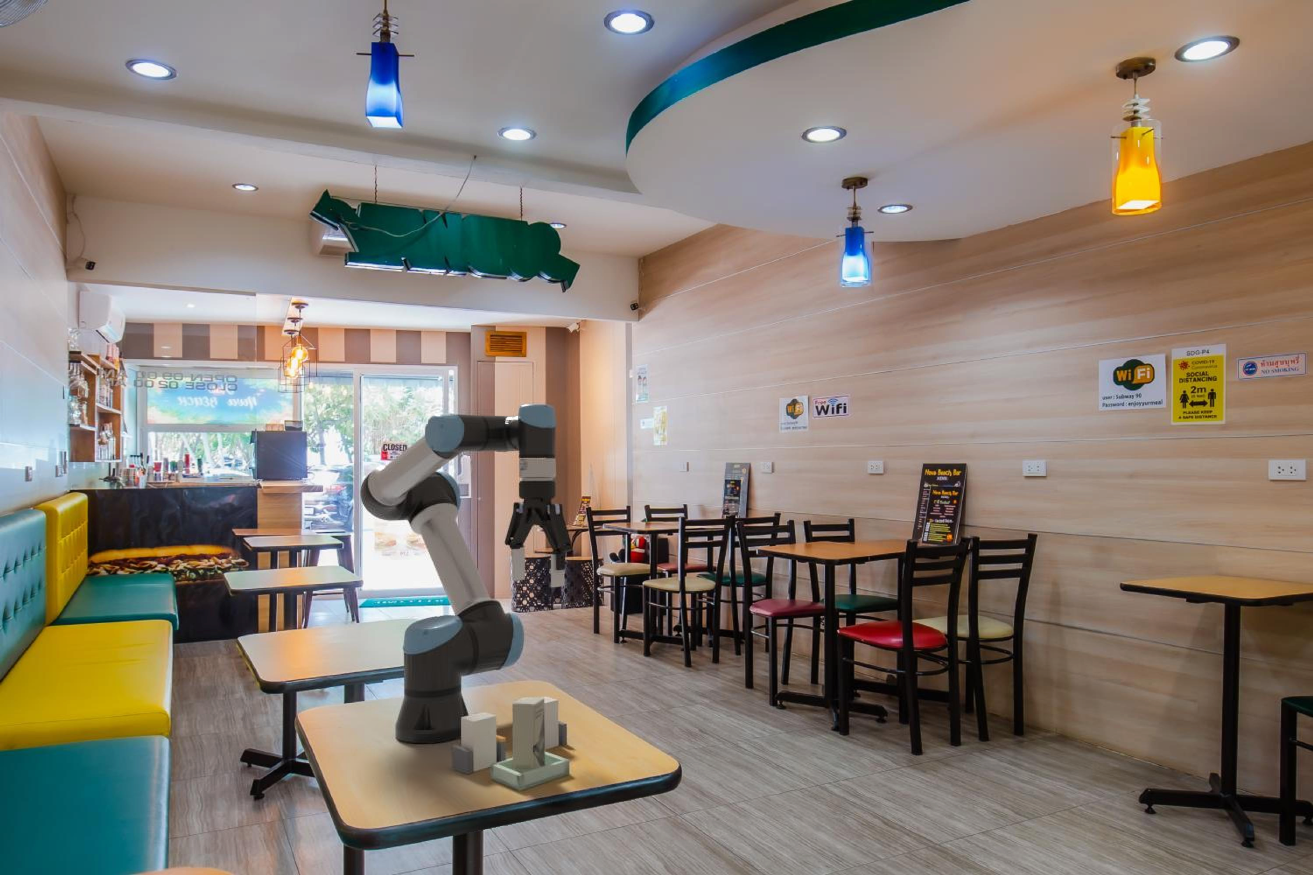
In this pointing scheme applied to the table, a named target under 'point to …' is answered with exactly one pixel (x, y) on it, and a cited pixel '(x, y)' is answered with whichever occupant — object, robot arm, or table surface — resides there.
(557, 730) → the tall white pillar
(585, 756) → the table surface
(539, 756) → the box
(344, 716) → the table surface
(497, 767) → the tray
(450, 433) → the robot arm
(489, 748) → the tall white upright block
